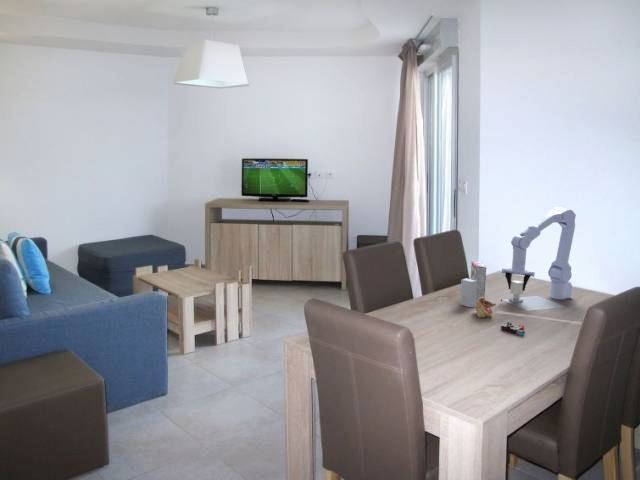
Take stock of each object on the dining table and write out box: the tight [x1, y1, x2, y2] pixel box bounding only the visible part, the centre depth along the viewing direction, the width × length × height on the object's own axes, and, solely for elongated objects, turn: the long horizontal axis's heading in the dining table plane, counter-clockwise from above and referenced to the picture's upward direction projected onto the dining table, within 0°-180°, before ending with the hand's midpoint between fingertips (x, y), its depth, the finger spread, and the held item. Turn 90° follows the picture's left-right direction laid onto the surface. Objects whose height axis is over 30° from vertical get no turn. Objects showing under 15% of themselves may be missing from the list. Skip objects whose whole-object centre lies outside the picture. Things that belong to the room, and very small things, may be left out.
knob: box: [509, 280, 524, 295], centre depth 286 cm, size 6×6×5 cm
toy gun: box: [500, 319, 526, 337], centre depth 248 cm, size 10×12×5 cm
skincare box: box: [460, 278, 477, 308], centre depth 281 cm, size 6×4×12 cm
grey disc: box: [508, 294, 523, 303], centre depth 287 cm, size 6×6×4 cm
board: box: [500, 295, 565, 312], centre depth 285 cm, size 21×19×1 cm
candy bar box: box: [470, 260, 487, 300], centre depth 295 cm, size 11×5×16 cm, turn 179°
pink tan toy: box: [473, 296, 497, 319], centre depth 267 cm, size 9×10×10 cm
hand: (516, 289), depth 286 cm, fingers closed on knob, 6 cm apart
